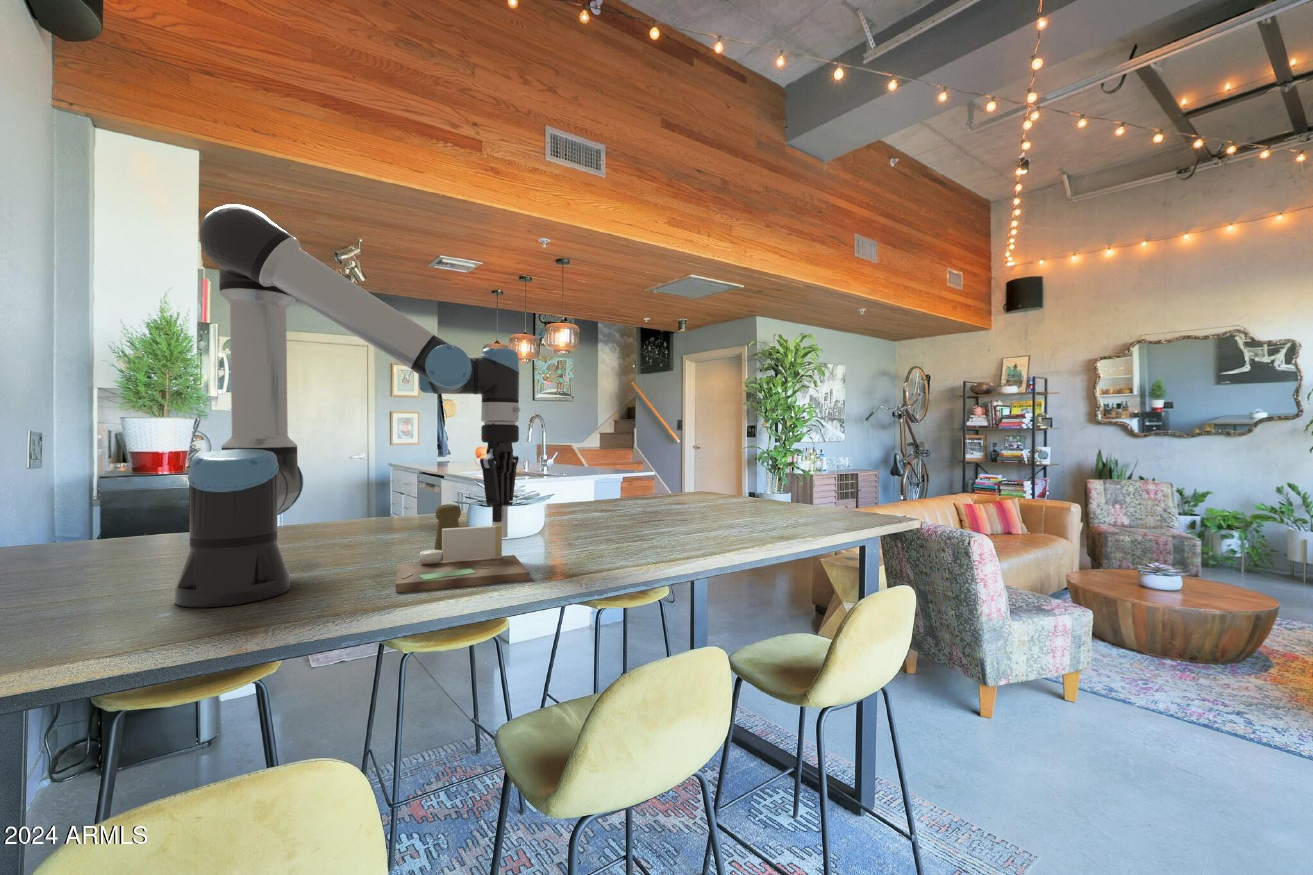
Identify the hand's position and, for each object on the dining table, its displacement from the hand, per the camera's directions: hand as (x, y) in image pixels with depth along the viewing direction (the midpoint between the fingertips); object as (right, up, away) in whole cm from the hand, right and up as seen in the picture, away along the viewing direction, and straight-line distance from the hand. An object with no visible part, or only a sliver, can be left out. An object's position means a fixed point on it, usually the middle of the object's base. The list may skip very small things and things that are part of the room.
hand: (499, 537), depth 122 cm
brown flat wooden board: (-4, -5, -13) cm, 15 cm away
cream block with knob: (-5, -3, -8) cm, 10 cm away
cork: (-13, -5, +5) cm, 14 cm away
